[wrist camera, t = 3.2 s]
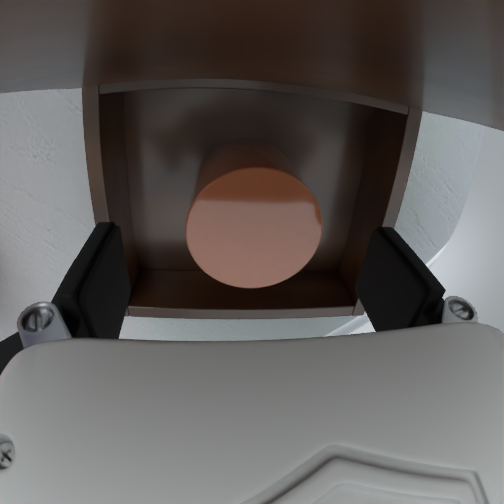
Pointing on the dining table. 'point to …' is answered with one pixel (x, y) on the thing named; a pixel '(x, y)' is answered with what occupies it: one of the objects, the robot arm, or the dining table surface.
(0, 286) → the dining table surface
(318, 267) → the brown wooden shallow box
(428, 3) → the lid
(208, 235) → the orange cylinder puck
